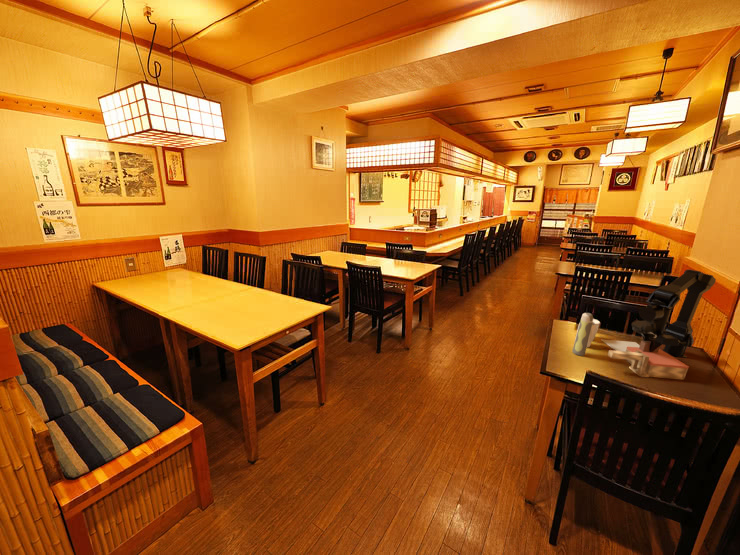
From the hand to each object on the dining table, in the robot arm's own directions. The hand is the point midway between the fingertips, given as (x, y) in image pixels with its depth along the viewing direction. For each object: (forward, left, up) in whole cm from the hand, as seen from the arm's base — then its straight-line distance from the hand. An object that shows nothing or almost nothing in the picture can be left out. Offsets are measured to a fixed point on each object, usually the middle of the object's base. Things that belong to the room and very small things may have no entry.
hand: (648, 350), depth 134 cm
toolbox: (+2, +5, -6) cm, 8 cm away
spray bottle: (+26, -3, -6) cm, 27 cm away
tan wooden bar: (+15, +9, 0) cm, 17 cm away
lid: (0, +5, -1) cm, 5 cm away
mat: (-2, -12, -6) cm, 14 cm away
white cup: (+13, -21, -6) cm, 26 cm away
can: (+19, -13, -6) cm, 24 cm away
